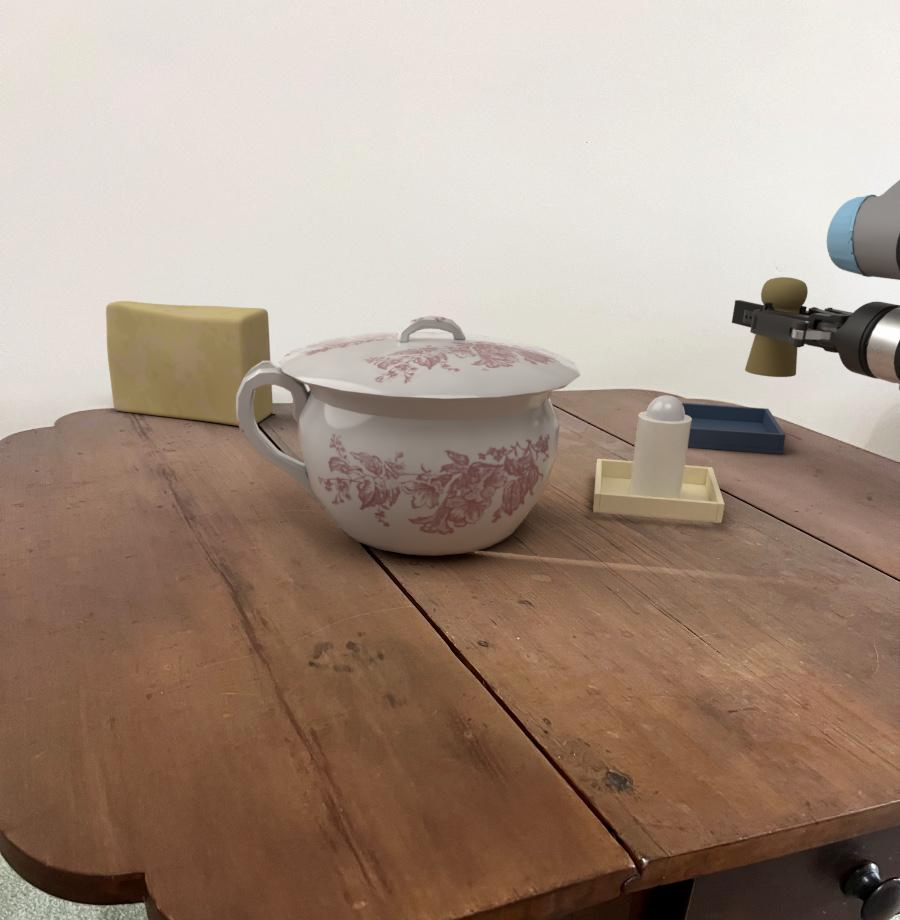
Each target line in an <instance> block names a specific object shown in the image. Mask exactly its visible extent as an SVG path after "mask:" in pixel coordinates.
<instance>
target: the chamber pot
mask: <svg viewBox="0 0 900 920" xmlns="http://www.w3.org/2000/svg"><path fill="white" fill-rule="evenodd" d="M429 329H431V330H441V331H421V330H429ZM278 365H279V366H277V365H275V364H274V362H272V361H271V360H270V361H262V362H260V363H259V364H257V365H256V366H254V367H252V368H251V369H250V370H249V371H248V373H247V374H246V375H245V376H244V378H243V381H242V383H241V385H240V387H239V389H238V392H237V394H236V418H237V421H238V425H239V426H238V428H239V432H240V433H241V435H242V436H243V437H244V438H245V439H246V440H247V442H248V443H249V444H250V445H251V447H252V448H253V449H254V450H255V451H256V452H257V454H258V455H259V456H260V457H261V458H262V459H264V460H265V461H268V462H269V463H271V464H272V465H274V466H275V467H277V468H278V469H280V470H282V471H284V472H285V474H288V475H289V476H290V477H292V478H293V479H294V481H296V482H297V483H298V484H299V485H300V486H301V487H302V488H303V489H304V490H305V491H306V492H307V493H308V494H309V495H310V496H311V497H312V499H314V501H315V502H316V503H317V504H318V505H319V506H320V507H321V508H323V509H325V511H326V512H327V514H328V516H329V517H330V518H331V520H332V521H333V523H334V524H335V525H336V526H337V528H339V529H340V530H341V531H342V532H343V533H345V535H347V536H349V537H350V538H351V539H353V540H354V541H356V542H358V543H360V544H362V545H366V546H369V547H371V548H375V549H377V550H381V551H386V552H391V553H397V554H402V555H408V556H417V557H418V556H419V557H441V556H453V555H461V554H465V553H471V552H474V551H479V550H484V549H488V548H491V547H492V546H494V545H496V544H498V543H501V542H503V541H505V540H506V539H508V538H509V536H511V535H513V533H514V532H515V531H516V530H517V529H518V528H519V526H520V525H521V524H523V522H524V520H525V519H526V518H527V516H528V515H529V514H530V512H531V511H532V510H533V508H534V507H535V506H536V504H537V503H538V501H539V500H540V499H541V498H542V496H543V495H544V493H545V492H546V491H547V488H548V485H549V481H550V478H551V475H552V471H553V467H554V465H555V460H556V459H557V454H558V450H559V449H558V448H559V437H560V426H561V425H560V421H559V416H558V413H557V411H556V409H555V407H554V405H553V403H552V400H551V399H550V397H551V395H552V393H553V392H554V391H558V390H561V389H565V388H566V387H568V386H569V385H570V384H571V383H573V382H574V381H575V380H577V379H578V378H579V377H581V371H580V370H579V367H578V365H577V363H576V362H575V361H573V360H571V359H570V358H567V357H566V356H563V355H561V354H559V353H557V352H553V351H550V350H548V349H545V348H543V347H539V346H535V345H532V344H529V343H524V342H521V341H515V340H512V339H511V340H510V339H506V338H499V337H493V336H486V335H480V334H471V333H464V331H463V330H462V328H461V326H459V325H458V324H457V323H456V322H455V321H454V320H452V319H451V318H447V317H444V316H439V315H438V316H437V315H427V316H422V317H418V318H414V319H412V320H409V321H407V322H406V323H405V324H404V325H403V326H402V327H400V329H398V331H384V332H373V333H372V332H371V333H361V334H355V335H354V334H353V335H347V336H340V337H333V338H327V339H324V340H320V341H317V342H314V343H311V344H308V345H304V346H301V347H298V348H294V349H292V350H290V351H289V352H288V353H286V354H285V355H284V356H283V357H282V358H281V359H280V360H279V362H278ZM267 385H272V386H277V387H280V388H283V389H285V390H286V391H288V392H289V393H290V394H291V398H292V418H293V419H294V420H295V422H296V423H297V436H298V437H297V439H298V440H297V441H298V444H299V449H300V453H301V456H302V460H303V462H302V461H301V460H298V459H296V458H294V457H292V456H290V455H288V454H286V453H285V452H283V451H281V450H279V449H278V448H277V447H276V446H275V444H273V443H272V442H271V441H270V440H269V439H268V437H267V436H265V434H264V433H263V432H262V431H261V430H260V428H259V425H258V423H257V422H256V419H255V416H254V413H253V406H254V394H255V389H257V388H259V387H262V386H267ZM307 386H308V388H307Z"/></svg>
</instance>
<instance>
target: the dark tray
mask: <svg viewBox="0 0 900 920" xmlns="http://www.w3.org/2000/svg"><path fill="white" fill-rule="evenodd" d="M681 403H682V405H683V407H684V411H685V415H688V416H690V417H691V418H692V423H691V430H690V436H689V443H688V448H692V449H705V450H717V451H718V450H719V451H731V452H732V451H735V452H745V453H746V452H747V453H758V454H759V453H762V454H773V455H783V452H784V446H785V442H786V436H787V435H786V433H785V432H784V431H783V429H782V427H781V426H780V424H779V422H778V421H777V420H776V418H775V417H774V415H773V414H772V411H770V409H769V408H764V407H752V406H751V407H749V406H734V405H720V404H718V405H717V404H707V403H705V404H704V403H691V402H681Z"/></svg>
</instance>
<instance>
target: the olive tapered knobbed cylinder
mask: <svg viewBox="0 0 900 920" xmlns="http://www.w3.org/2000/svg"><path fill="white" fill-rule="evenodd" d="M808 291H809V289H808V285H807V283H806V282H805V281H803V280H801V279H798V278H794V277H787V276H786V277H785V276H780V277H773V278H770V279H767V280H766V282H765V283H764V284H763V285H762V287H761V292H760V298H761V302H762V305H764V303H773V305H772V307H774V310H777V311H783V312H789V313H794V314H799V310H800V307H801V306H804V304H805V303H806V301H807V298H808ZM797 363H798V347H795V346H793V345H791V344H789V343H787V342H783V341H780V340H776V339H773V338H769V337H765V336H762V335H758V334H754V338H753V341H752V345H751V348H750V351H749V354H748V358H747V361H746V365H745V368H744V371H745V372H746V373H749V374H751V375H752V374H753V375H757V376H762V377H770V378H771V377H772V378H790V377H791V378H792V377H795V376H796V375H797Z"/></svg>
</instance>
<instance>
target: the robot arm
mask: <svg viewBox="0 0 900 920" xmlns="http://www.w3.org/2000/svg"><path fill="white" fill-rule="evenodd" d="M826 249H827V252H828V256H829V258H830V260H831V262H832V263H833V264H834V266H835V267H837V268H838V269H840V270H842V271H845V272H848V273H852V274H857V275H859V276H863V277H867V278H879V279H880V278H881V279H890V280H896V281H897V280H898V281H900V179H899V180H898V181H896V182H895V183H894V184H893V185H891V186H890V187H889V188H888V189H887V190H885V191H884V193H882V194H880V195H876V194H867V195H864V196H856V197H854V198H851V199H848V200H847V201H845V202H844V203H843V204H842V205H841V206H840V207H839V208H838V209H837V210H836V212H835V214H834V215H833V216H832V219H831V221H830V223H829V226H828V229H827V234H826ZM772 305H773V303H764V304H760V303H755V302H751V301H746V300H743V299H735V300H734V307H733V312H732V318H731V323H732V324H735V325H739V326H743V327H747V328H750V331H749V333H751V334H753V335H755V334H758V335H762V336H765V337H769V338H773V339H776V340H780V341H783V342H787V343H789V344H791V345H793V346H795V347H797V348H802V347H805V345H807V346H809V347H815V348H819V349H820V348H821V349H823V350H824V351H825V352H827V353H828V352H829V353H835V354H838V355H839V359H840V361H841V363H842V365H843V366H844V367H845V368H846V369H847V370H848V371H849V372H852V373H854V374H857V375H861V376H864V377H868V378H871V379H877V380H881V381H885V382H888V383H892V384H898V390H899V391H900V304H895V303H888V302H885V301H884V302H883V301H870V302H866V303H864V304H863V305H861V306H859V307H857V308H856V310H854V311H853V312H851V311H847V310H842V309H835V308H833V307H827V308H825V307H824V309H821V308H819V307H817V306H816V307H815V306H812V307H809V308H808V307H807V306H805V305H802V306H801V307H800V310H799V314H794V313H789V312H783V311H777V310H774V307H772ZM807 308H808V310H807Z"/></svg>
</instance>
